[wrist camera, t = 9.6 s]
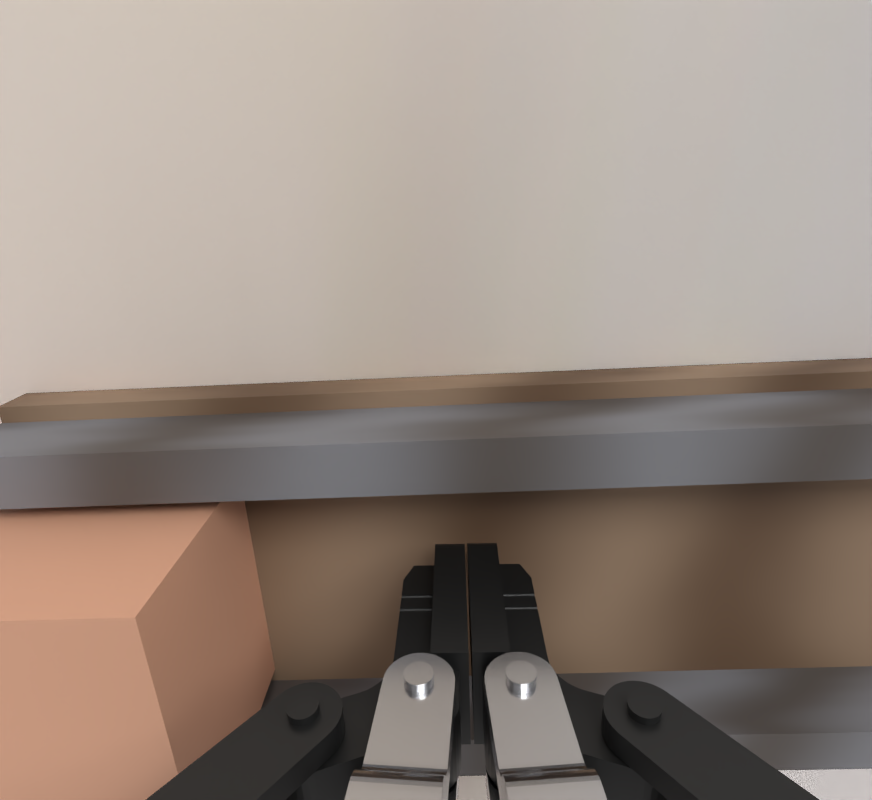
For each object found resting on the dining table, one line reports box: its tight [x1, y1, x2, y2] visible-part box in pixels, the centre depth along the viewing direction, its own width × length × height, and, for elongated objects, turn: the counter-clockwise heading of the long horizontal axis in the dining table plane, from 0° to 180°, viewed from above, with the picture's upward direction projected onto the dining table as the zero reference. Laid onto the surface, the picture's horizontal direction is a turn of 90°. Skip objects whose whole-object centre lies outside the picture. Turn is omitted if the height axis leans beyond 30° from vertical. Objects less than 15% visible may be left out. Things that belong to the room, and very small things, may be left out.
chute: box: [0, 358, 872, 776], centre depth 14 cm, size 24×10×3 cm, turn 93°
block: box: [0, 501, 275, 800], centre depth 13 cm, size 6×6×5 cm
